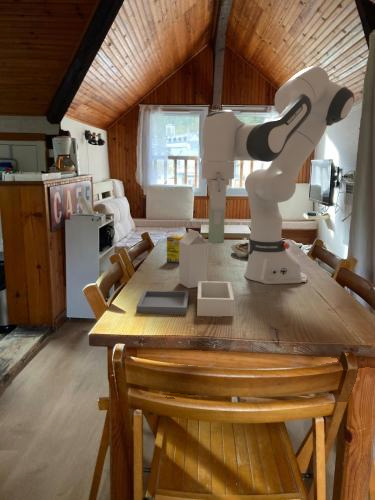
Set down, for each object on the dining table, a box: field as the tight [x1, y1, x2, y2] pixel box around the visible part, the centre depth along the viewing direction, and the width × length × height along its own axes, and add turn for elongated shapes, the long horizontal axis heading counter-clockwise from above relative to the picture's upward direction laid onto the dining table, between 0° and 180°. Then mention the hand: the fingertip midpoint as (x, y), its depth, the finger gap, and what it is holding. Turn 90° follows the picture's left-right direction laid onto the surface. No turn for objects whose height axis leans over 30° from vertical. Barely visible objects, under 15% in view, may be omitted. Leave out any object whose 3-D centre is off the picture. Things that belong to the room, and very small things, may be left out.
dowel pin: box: [207, 198, 226, 244], centre depth 110 cm, size 4×4×12 cm
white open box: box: [196, 280, 235, 317], centre depth 116 cm, size 10×16×5 cm, turn 178°
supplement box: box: [166, 234, 185, 265], centre depth 165 cm, size 6×6×11 cm
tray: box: [136, 289, 189, 315], centre depth 116 cm, size 14×14×2 cm
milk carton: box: [178, 228, 208, 289], centre depth 134 cm, size 7×7×19 cm
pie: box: [230, 241, 249, 260], centre depth 179 cm, size 28×27×5 cm
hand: (216, 222), depth 110 cm, fingers closed on dowel pin, 4 cm apart
